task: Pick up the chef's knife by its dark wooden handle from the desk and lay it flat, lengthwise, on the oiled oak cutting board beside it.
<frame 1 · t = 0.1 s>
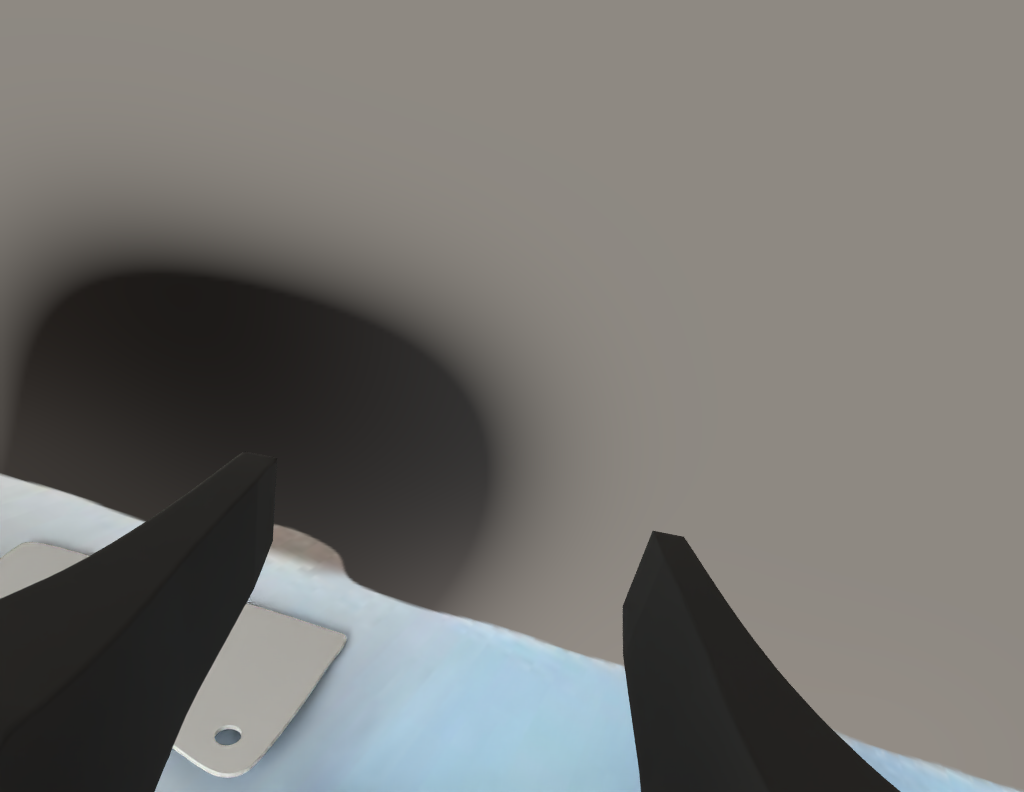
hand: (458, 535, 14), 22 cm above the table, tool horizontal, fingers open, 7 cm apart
kitchen cleaver: (15, 615, 36), on the table
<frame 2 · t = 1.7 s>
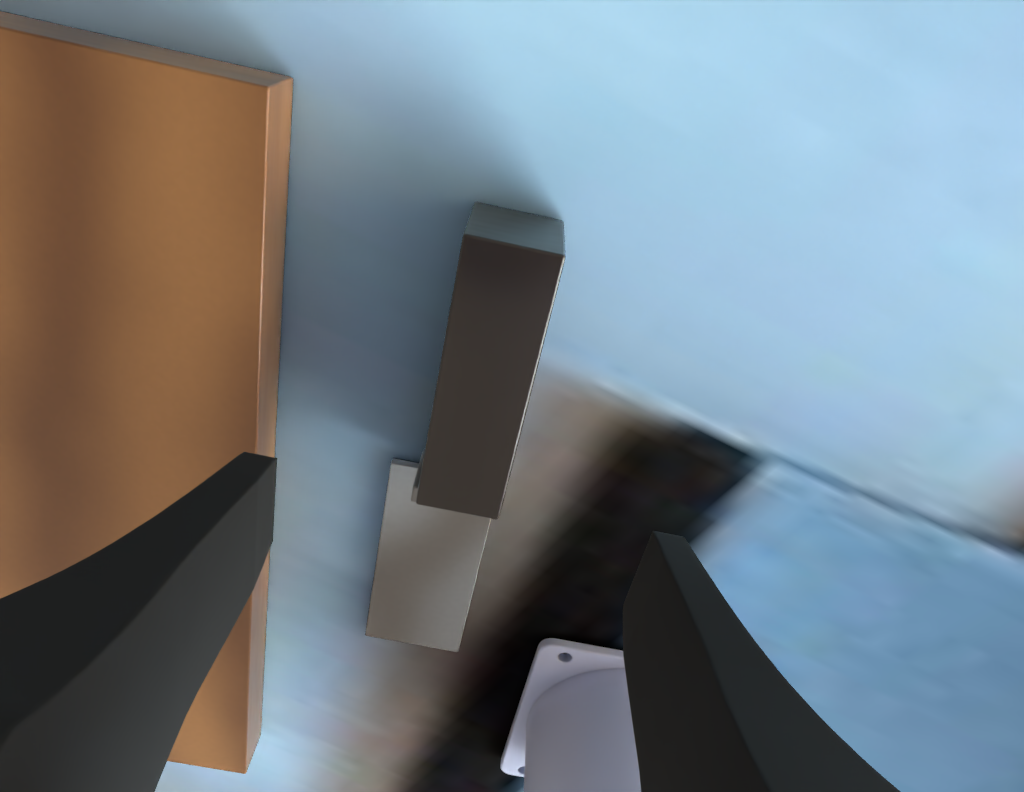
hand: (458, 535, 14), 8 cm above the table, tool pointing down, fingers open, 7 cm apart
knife: (490, 345, 21), on the table
cutting board: (105, 461, 24), on the table
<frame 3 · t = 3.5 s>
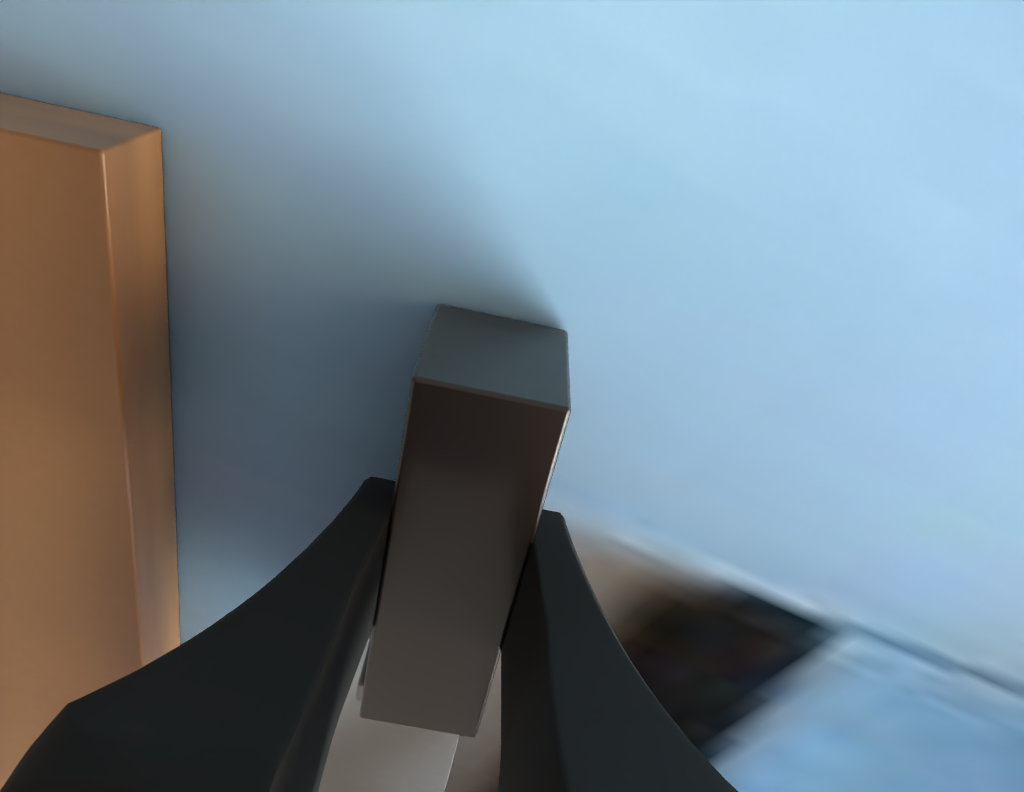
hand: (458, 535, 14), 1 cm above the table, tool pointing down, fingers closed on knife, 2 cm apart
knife: (465, 489, 15), on the table, touching gripper
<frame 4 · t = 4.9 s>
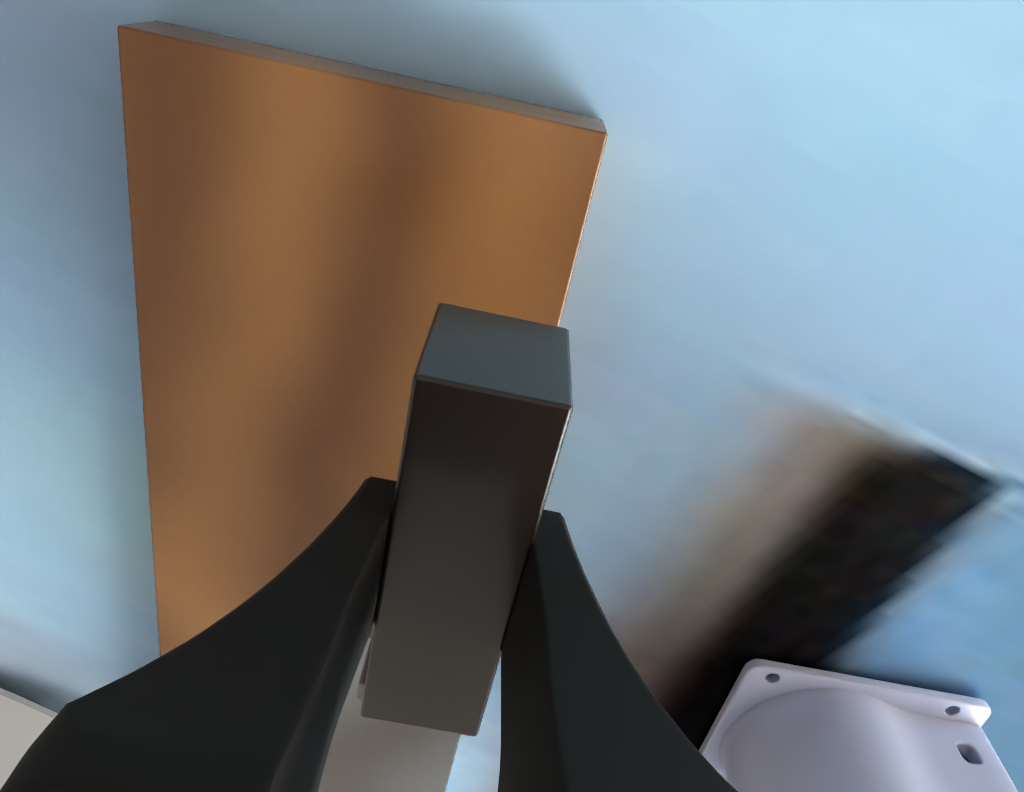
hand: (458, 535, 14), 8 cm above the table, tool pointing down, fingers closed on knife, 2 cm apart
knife: (466, 488, 15), point 7 cm above the table, touching gripper
cutting board: (341, 489, 24), on the table
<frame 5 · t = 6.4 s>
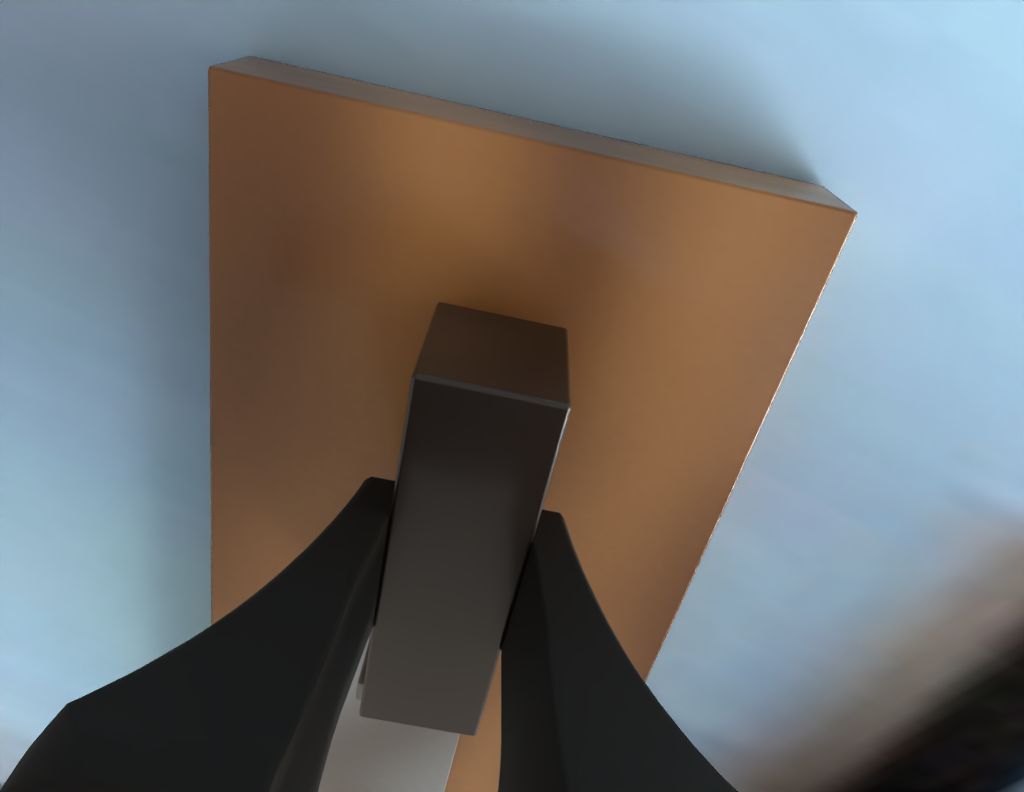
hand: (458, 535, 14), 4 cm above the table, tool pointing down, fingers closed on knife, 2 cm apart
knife: (465, 487, 15), point 2 cm above the table, touching gripper
cutting board: (437, 609, 20), on the table
when the fingers open (3 cm above the table, at t = 6.8 s): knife stays where it is, resting on cutting board.
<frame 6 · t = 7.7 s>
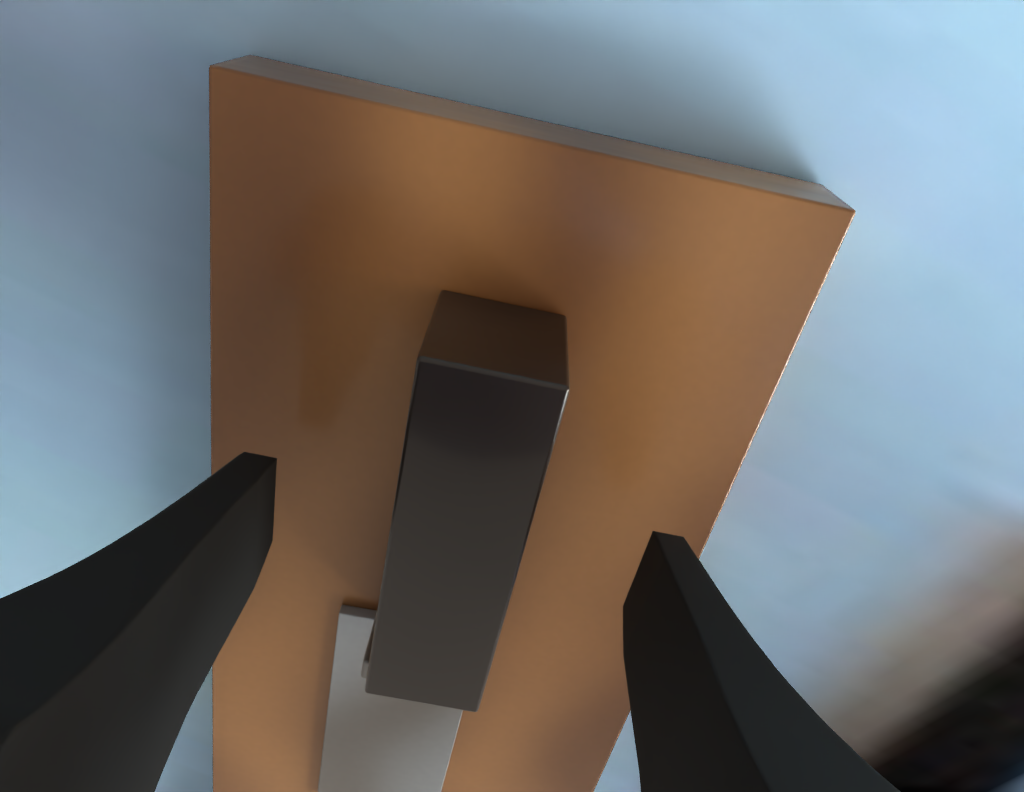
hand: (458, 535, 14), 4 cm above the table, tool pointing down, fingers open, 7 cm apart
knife: (467, 471, 15), point 2 cm above the table, touching cutting board
cutting board: (437, 606, 20), on the table
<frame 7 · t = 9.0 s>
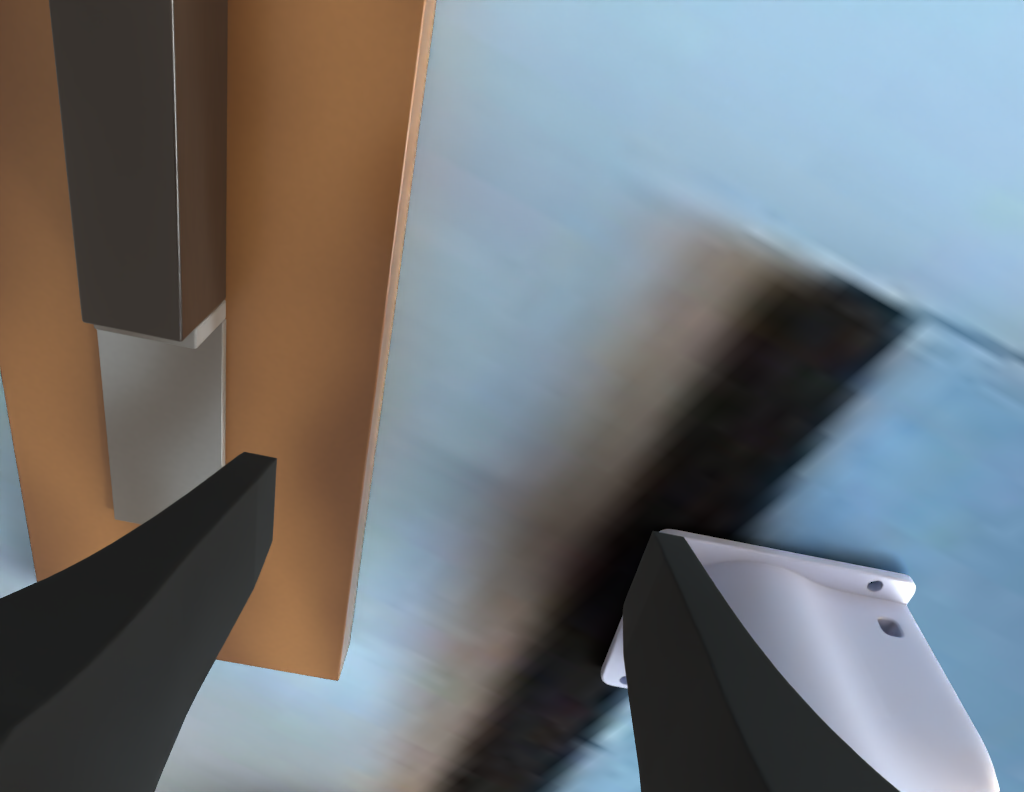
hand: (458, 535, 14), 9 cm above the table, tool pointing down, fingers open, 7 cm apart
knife: (178, 140, 18), point 2 cm above the table, touching cutting board
cutting board: (211, 329, 22), on the table
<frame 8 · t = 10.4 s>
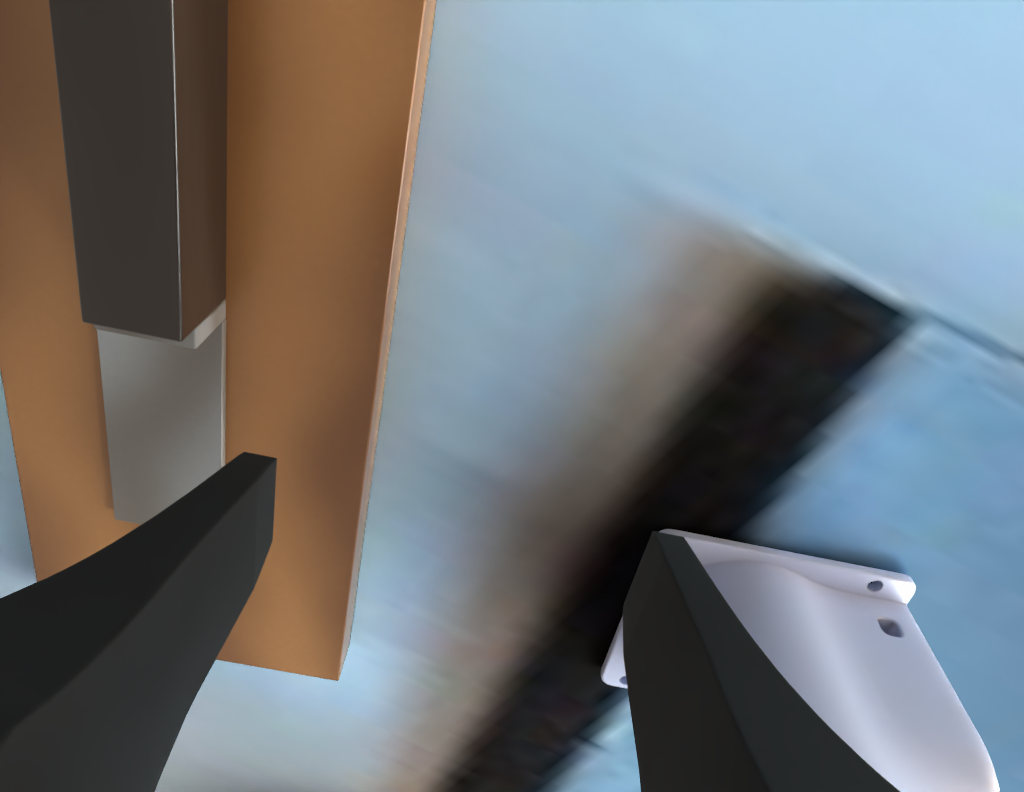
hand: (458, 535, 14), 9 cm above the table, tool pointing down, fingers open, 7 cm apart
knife: (179, 140, 18), point 2 cm above the table, touching cutting board
cutting board: (211, 329, 22), on the table
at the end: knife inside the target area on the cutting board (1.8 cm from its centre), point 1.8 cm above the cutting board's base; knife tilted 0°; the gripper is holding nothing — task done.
